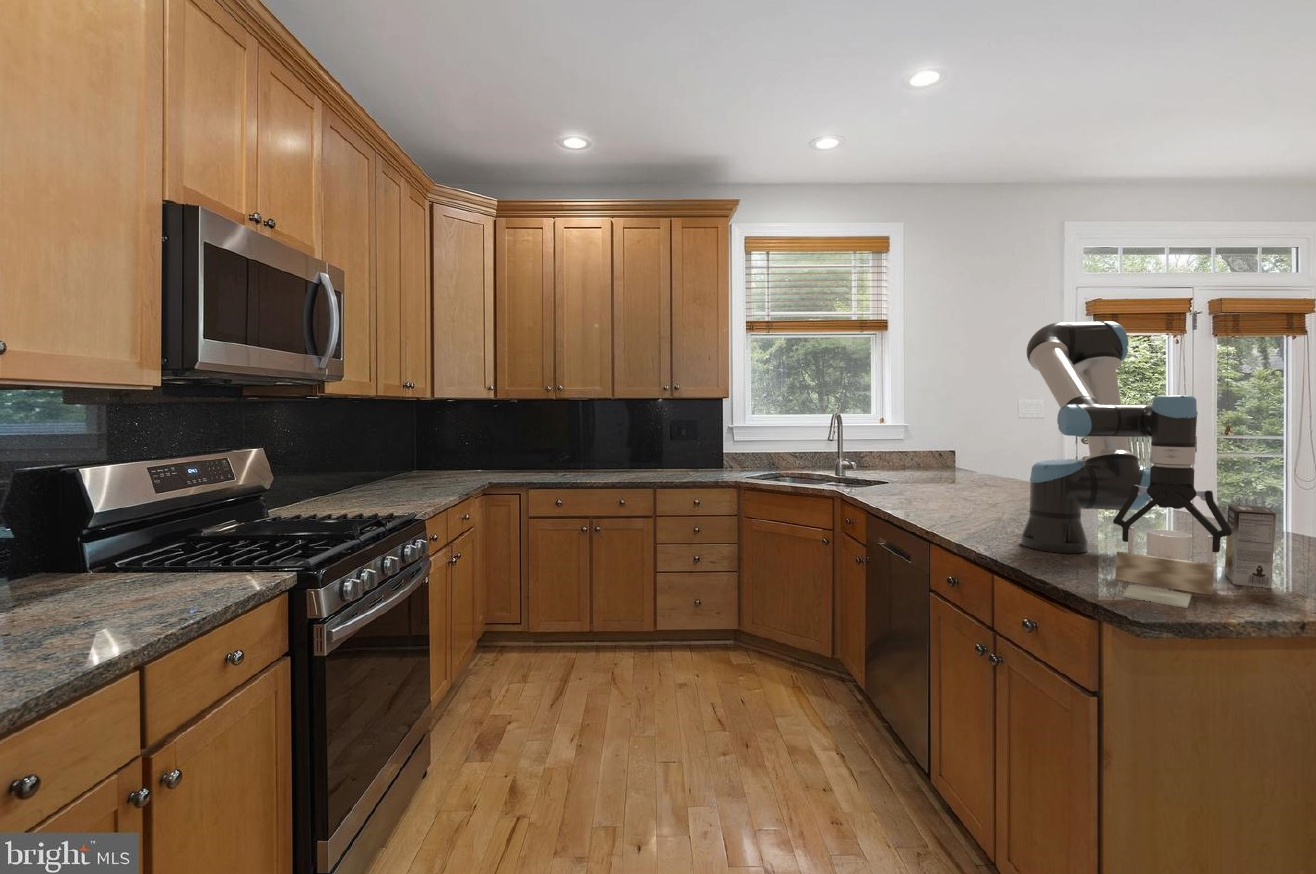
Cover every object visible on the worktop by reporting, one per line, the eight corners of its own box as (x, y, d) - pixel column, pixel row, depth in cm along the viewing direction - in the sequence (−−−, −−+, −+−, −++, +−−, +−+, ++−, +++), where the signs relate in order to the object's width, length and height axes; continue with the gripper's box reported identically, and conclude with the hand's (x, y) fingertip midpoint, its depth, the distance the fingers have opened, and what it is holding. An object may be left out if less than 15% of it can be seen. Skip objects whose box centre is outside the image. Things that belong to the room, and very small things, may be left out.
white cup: (1172, 584, 135) (1174, 538, 134) (1135, 574, 142) (1137, 530, 142) (1199, 581, 137) (1201, 535, 136) (1161, 571, 145) (1163, 528, 144)
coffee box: (1222, 574, 142) (1226, 504, 141) (1261, 578, 139) (1265, 506, 138) (1232, 584, 134) (1236, 510, 133) (1273, 589, 131) (1278, 513, 130)
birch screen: (1115, 579, 138) (1116, 552, 138) (1116, 578, 139) (1117, 551, 139) (1212, 595, 127) (1213, 565, 127) (1212, 593, 128) (1214, 564, 128)
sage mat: (1122, 596, 126) (1122, 595, 126) (1129, 586, 133) (1129, 584, 133) (1187, 608, 119) (1187, 606, 119) (1191, 596, 127) (1191, 594, 127)
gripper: (1100, 463, 144) (1097, 555, 145) (1249, 470, 127) (1245, 575, 128) (1106, 461, 150) (1103, 550, 150) (1250, 468, 132) (1246, 568, 133)
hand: (1168, 561), depth 139 cm, fingers open, 13 cm apart
